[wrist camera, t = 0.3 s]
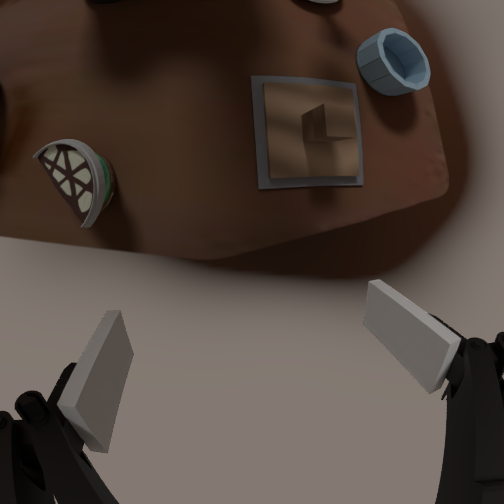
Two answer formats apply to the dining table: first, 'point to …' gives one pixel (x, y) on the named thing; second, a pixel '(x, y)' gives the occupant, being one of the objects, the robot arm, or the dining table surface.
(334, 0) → the flower in vase
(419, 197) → the dining table surface
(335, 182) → the rubber mat
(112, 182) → the food container
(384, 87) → the ceramic bowl
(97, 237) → the dining table surface
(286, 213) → the dining table surface
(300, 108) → the walnut lid
